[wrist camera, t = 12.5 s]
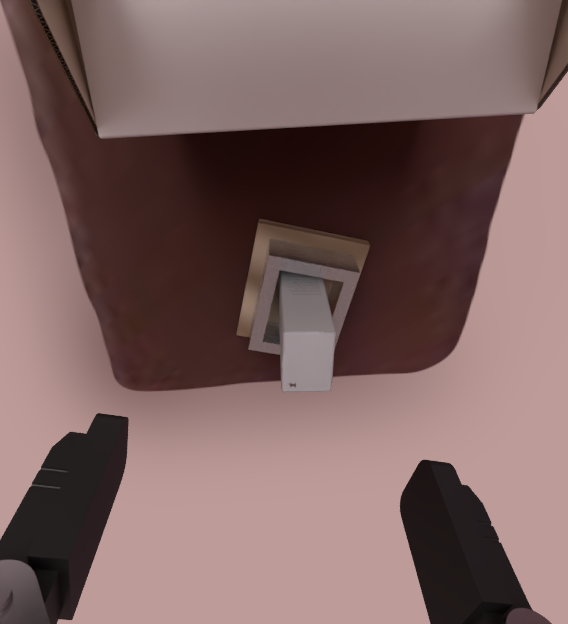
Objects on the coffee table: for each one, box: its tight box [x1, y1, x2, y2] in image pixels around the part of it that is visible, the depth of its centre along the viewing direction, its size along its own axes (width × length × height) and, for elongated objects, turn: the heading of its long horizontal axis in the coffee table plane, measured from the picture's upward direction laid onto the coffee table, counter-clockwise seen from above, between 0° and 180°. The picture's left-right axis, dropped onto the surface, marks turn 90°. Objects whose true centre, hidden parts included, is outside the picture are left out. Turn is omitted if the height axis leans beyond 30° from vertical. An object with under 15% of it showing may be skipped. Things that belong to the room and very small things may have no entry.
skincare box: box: [279, 270, 336, 392], centre depth 39 cm, size 6×4×12 cm
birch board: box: [236, 219, 370, 349], centre depth 45 cm, size 13×11×1 cm
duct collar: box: [248, 238, 360, 355], centre depth 43 cm, size 10×8×4 cm
